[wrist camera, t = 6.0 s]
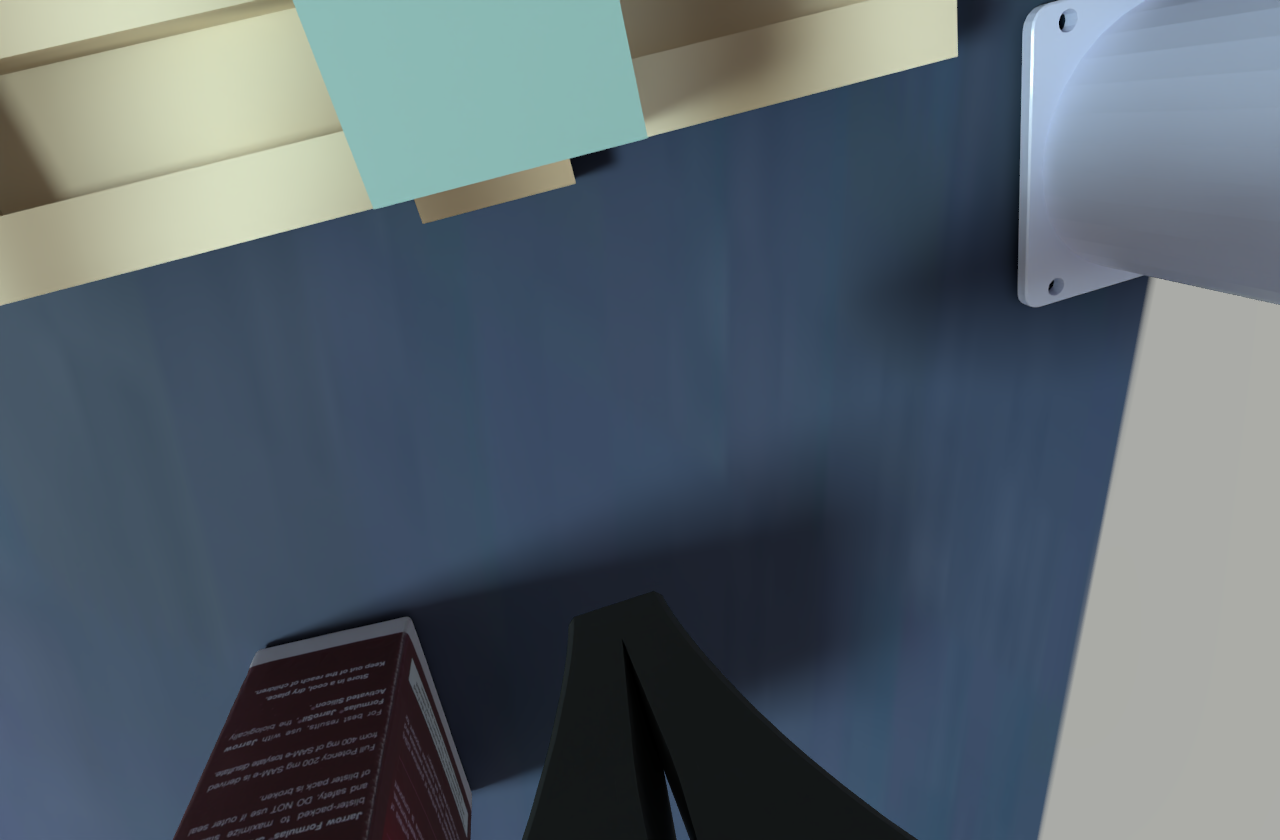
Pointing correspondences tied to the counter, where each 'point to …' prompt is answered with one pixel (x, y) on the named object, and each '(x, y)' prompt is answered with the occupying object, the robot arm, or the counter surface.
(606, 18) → the block
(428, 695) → the supplement box
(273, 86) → the beam
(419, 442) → the counter surface
